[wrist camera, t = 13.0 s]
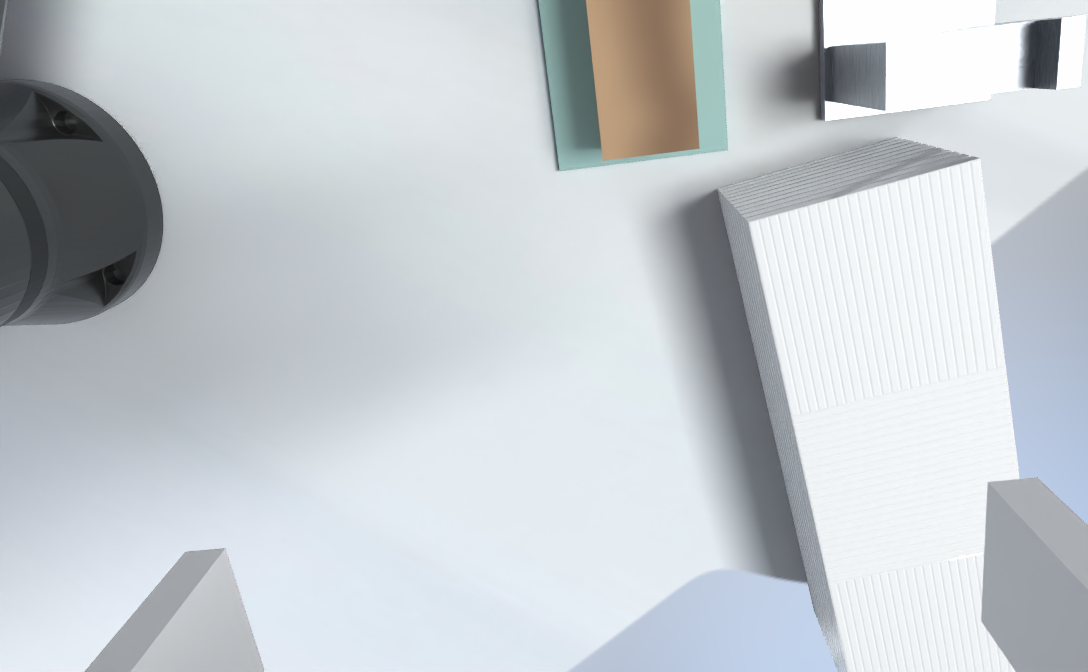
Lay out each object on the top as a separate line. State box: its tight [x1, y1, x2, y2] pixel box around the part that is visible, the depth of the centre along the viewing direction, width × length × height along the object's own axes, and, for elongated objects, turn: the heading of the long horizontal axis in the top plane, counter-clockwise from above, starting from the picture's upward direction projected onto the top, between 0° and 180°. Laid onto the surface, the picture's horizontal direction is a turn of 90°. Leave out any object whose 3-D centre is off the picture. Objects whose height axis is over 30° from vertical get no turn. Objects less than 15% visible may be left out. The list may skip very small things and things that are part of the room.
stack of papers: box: [717, 137, 1020, 672], centre depth 46 cm, size 32×11×11 cm, turn 17°
